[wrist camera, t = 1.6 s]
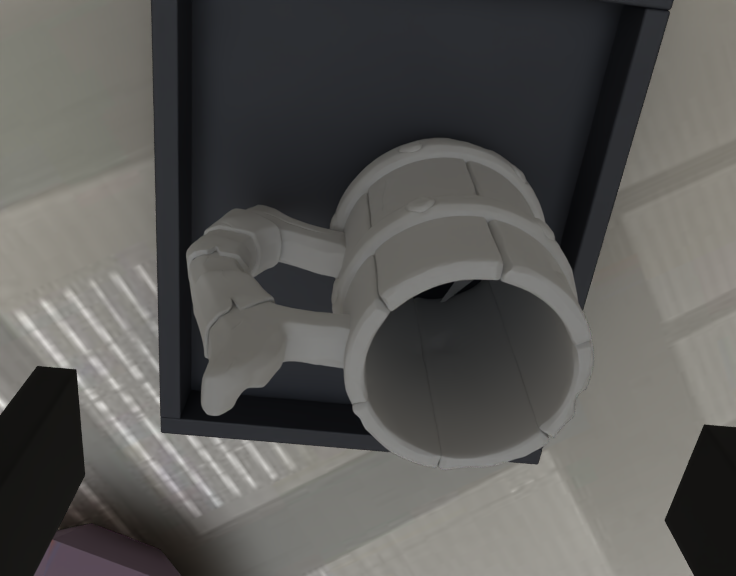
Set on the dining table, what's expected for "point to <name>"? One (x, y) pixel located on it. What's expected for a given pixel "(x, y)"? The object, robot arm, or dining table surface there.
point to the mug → (409, 306)
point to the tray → (372, 147)
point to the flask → (101, 555)
